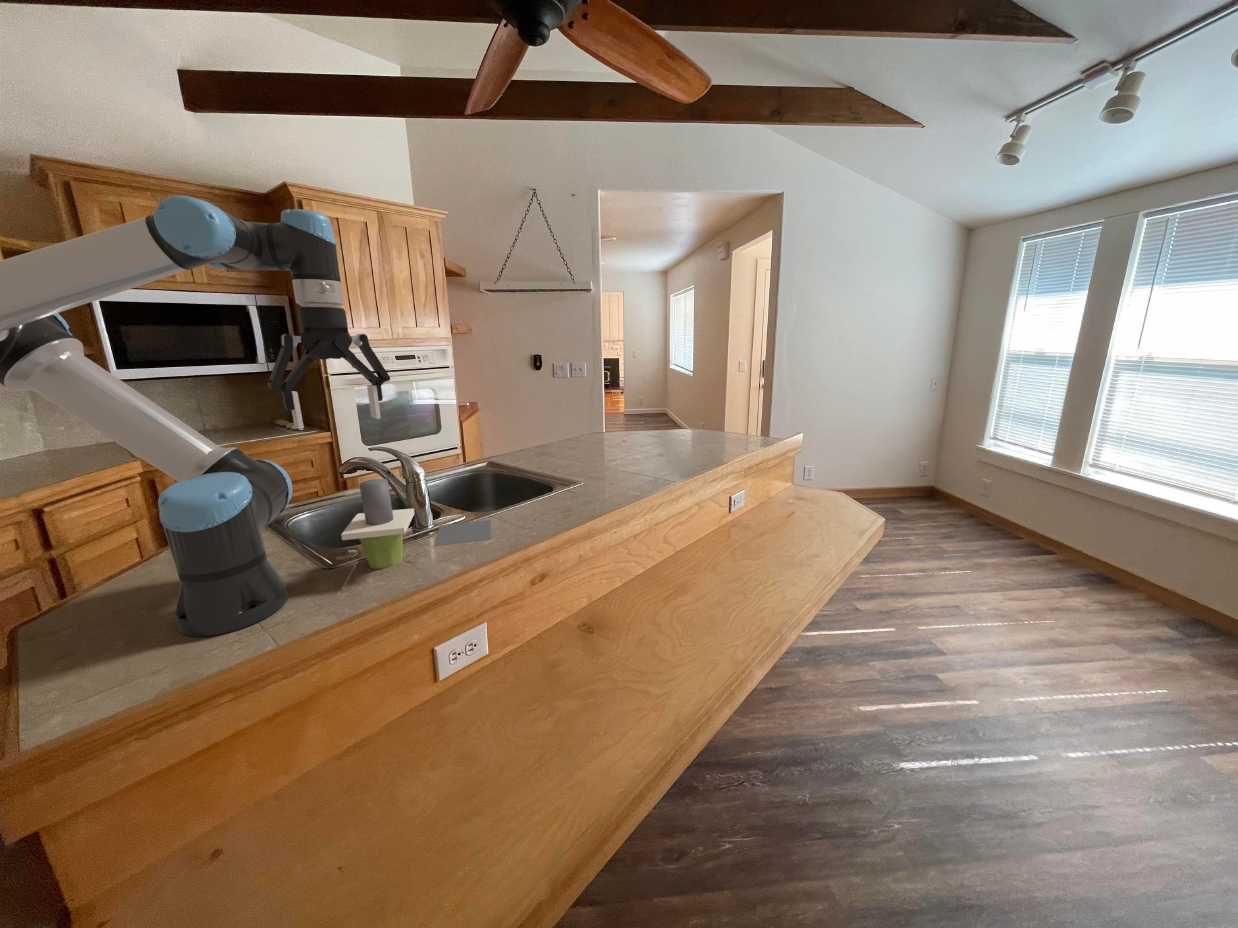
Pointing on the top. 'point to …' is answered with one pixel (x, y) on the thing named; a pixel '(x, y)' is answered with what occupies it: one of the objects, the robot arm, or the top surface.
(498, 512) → the top surface
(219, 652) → the top surface
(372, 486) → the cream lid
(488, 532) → the charcoal mat
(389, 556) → the plant pot
